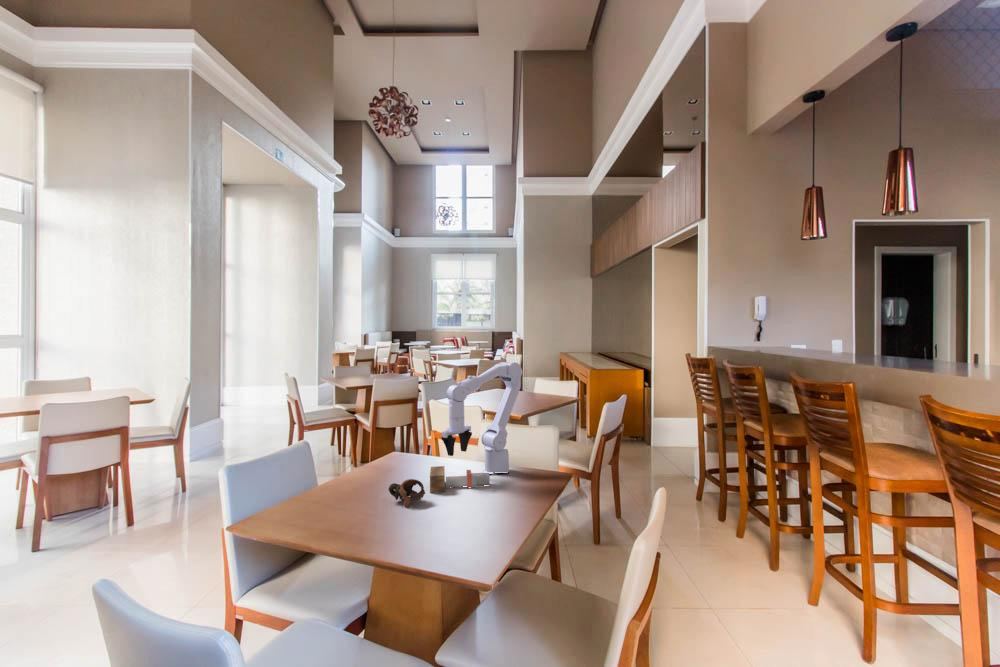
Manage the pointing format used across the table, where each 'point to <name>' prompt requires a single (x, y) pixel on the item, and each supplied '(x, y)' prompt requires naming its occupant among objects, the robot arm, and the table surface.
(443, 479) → the walnut block
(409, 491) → the brown ringed sculpture
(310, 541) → the table surface
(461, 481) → the grey and red block
